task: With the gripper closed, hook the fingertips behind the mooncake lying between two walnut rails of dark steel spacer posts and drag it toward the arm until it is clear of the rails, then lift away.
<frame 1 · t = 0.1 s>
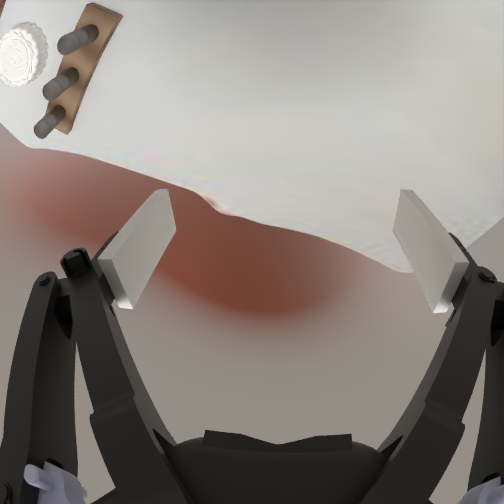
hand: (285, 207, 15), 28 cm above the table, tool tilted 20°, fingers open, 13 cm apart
mooncake: (26, 51, 25), on the table
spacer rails: (25, 48, 24), on the table
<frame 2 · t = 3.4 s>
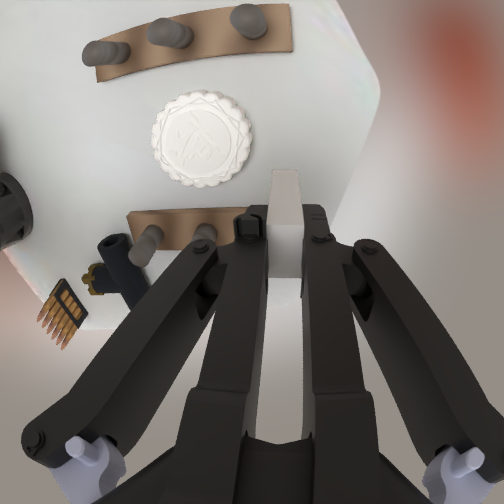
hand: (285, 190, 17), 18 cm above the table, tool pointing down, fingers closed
mooncake: (204, 135, 33), on the table
pipe connector: (120, 268, 48), on the table
ammunition clip: (74, 296, 54), on the table
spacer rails: (195, 137, 32), on the table
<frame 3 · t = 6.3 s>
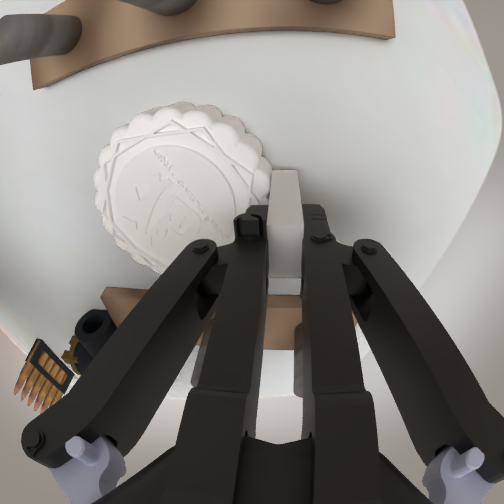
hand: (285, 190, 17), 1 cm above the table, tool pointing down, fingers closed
mooncake: (188, 185, 19), on the table, touching gripper
pipe connector: (110, 344, 34), on the table
ammunition clip: (56, 356, 40), on the table
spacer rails: (202, 185, 19), on the table
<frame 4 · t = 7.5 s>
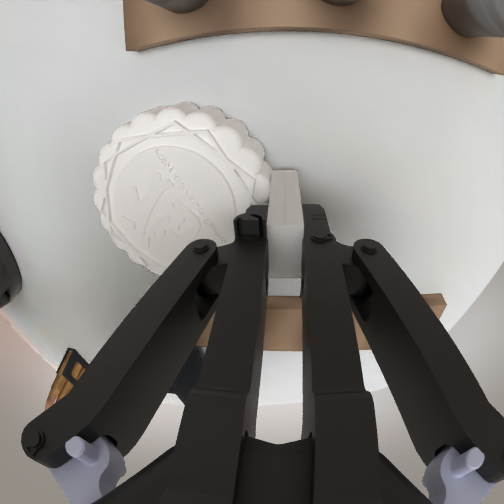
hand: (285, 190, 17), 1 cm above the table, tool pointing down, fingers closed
mooncake: (188, 186, 19), on the table
pipe connector: (167, 353, 33), on the table
ammunition clip: (89, 366, 39), on the table
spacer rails: (333, 185, 18), on the table
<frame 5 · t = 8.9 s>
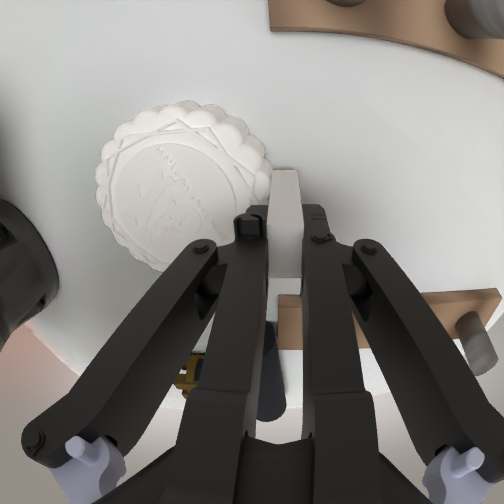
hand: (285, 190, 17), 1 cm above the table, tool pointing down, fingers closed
mooncake: (189, 183, 19), on the table
pipe connector: (233, 359, 32), on the table
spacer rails: (439, 191, 17), on the table
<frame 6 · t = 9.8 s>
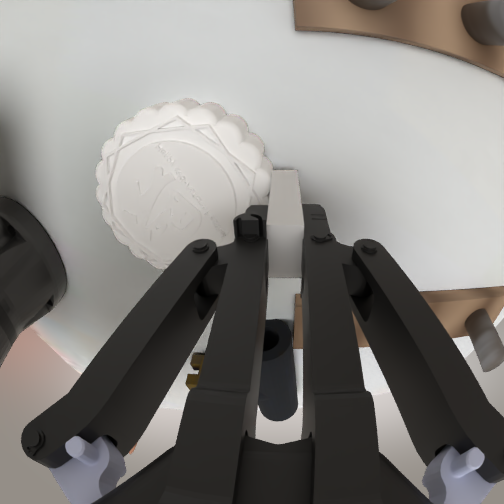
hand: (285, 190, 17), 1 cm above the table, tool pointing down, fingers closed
mooncake: (189, 181, 19), on the table, touching gripper
pipe connector: (245, 358, 31), on the table
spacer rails: (453, 191, 17), on the table
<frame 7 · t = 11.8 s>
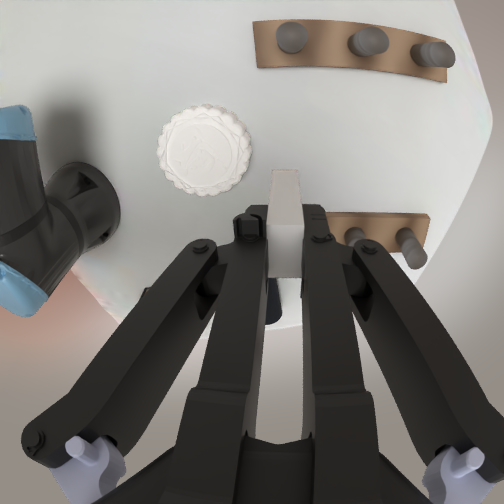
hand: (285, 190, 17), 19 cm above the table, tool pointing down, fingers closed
mooncake: (207, 146, 35), on the table
pipe connector: (242, 272, 47), on the table
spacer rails: (358, 143, 32), on the table
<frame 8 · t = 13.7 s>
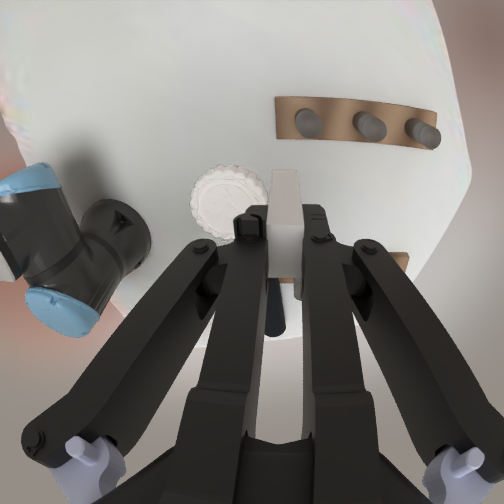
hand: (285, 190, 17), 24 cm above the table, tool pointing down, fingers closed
mooncake: (230, 198, 45), on the table
pipe connector: (253, 294, 57), on the table
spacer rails: (353, 200, 42), on the table
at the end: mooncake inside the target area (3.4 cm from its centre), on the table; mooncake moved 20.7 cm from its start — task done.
